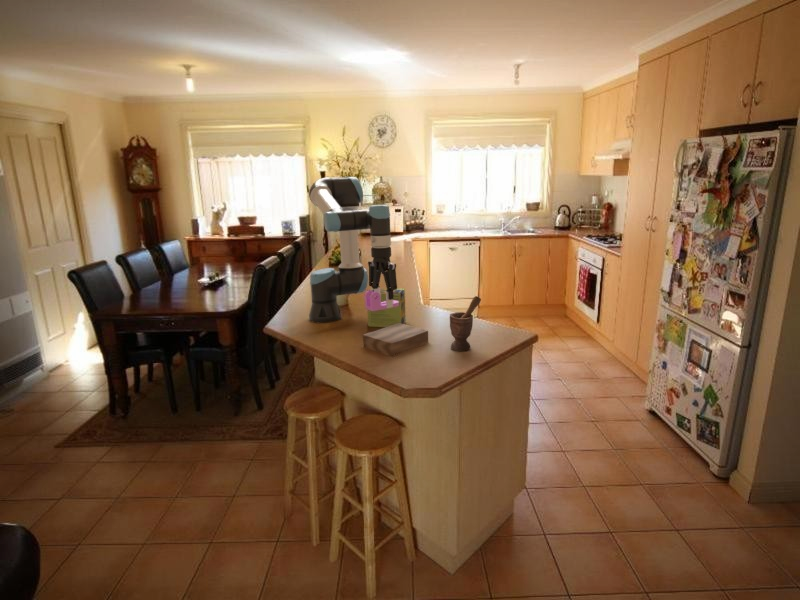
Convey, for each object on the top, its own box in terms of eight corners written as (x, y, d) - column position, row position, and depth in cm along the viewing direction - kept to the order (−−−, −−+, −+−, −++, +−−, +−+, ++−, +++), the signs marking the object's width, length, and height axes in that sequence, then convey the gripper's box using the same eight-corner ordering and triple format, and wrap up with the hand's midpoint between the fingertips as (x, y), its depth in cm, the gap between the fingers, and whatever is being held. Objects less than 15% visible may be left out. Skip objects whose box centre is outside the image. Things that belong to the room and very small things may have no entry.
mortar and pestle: (468, 341, 188) (468, 292, 183) (483, 347, 181) (484, 296, 176) (445, 347, 182) (445, 297, 177) (460, 353, 175) (460, 301, 170)
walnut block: (363, 346, 185) (362, 334, 184) (399, 334, 199) (399, 322, 198) (391, 356, 174) (391, 343, 173) (428, 342, 188) (428, 330, 187)
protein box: (401, 328, 207) (400, 293, 204) (367, 326, 211) (366, 292, 207) (406, 321, 217) (405, 288, 214) (373, 320, 220) (372, 287, 217)
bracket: (372, 311, 178) (371, 293, 177) (365, 308, 183) (364, 290, 181) (401, 305, 185) (400, 288, 183) (394, 303, 189) (393, 285, 188)
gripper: (357, 246, 183) (360, 304, 188) (390, 249, 169) (393, 312, 174) (372, 243, 188) (374, 300, 193) (405, 247, 174) (407, 308, 179)
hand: (383, 305), depth 184 cm, fingers closed on bracket, 6 cm apart
